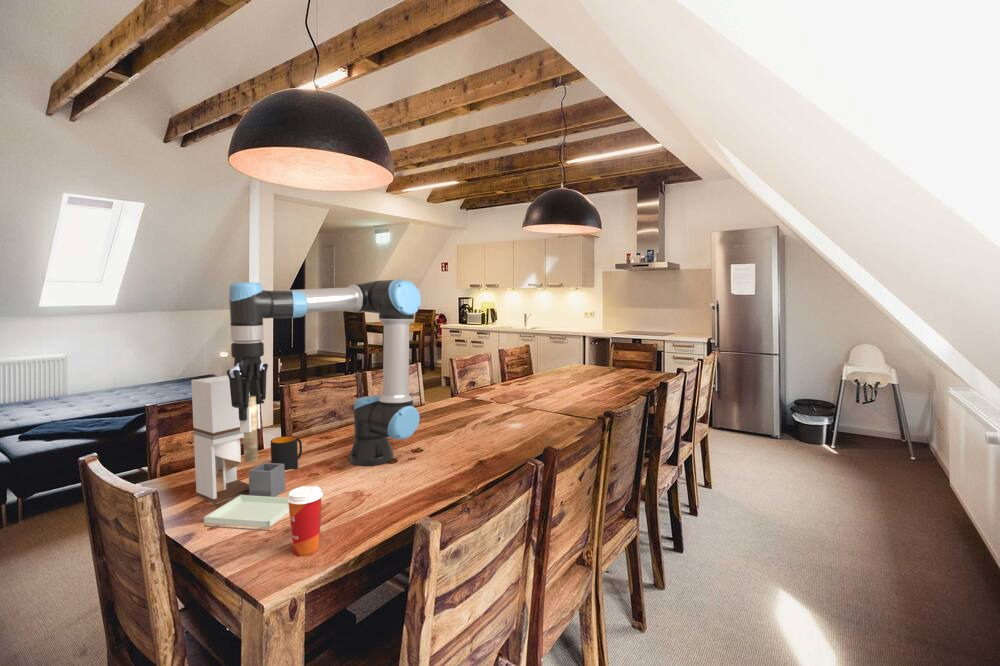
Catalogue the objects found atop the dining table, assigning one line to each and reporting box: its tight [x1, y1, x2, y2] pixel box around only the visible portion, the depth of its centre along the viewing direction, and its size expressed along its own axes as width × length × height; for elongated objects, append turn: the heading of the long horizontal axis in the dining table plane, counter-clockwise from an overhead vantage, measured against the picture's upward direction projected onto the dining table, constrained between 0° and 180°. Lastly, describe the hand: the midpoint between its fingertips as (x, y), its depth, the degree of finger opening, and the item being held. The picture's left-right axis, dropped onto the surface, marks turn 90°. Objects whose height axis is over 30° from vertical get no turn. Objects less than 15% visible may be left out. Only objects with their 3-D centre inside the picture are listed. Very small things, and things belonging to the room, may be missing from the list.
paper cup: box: [286, 485, 324, 557], centre depth 110 cm, size 8×8×14 cm
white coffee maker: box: [191, 374, 250, 505], centre depth 139 cm, size 11×11×35 cm
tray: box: [203, 494, 290, 532], centre depth 127 cm, size 18×14×2 cm
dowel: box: [243, 396, 259, 463], centre depth 125 cm, size 3×3×17 cm
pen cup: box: [248, 462, 286, 497], centre depth 139 cm, size 7×7×9 cm
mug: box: [270, 435, 303, 471], centre depth 164 cm, size 8×12×10 cm
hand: (250, 430), depth 125 cm, fingers closed on dowel, 3 cm apart
